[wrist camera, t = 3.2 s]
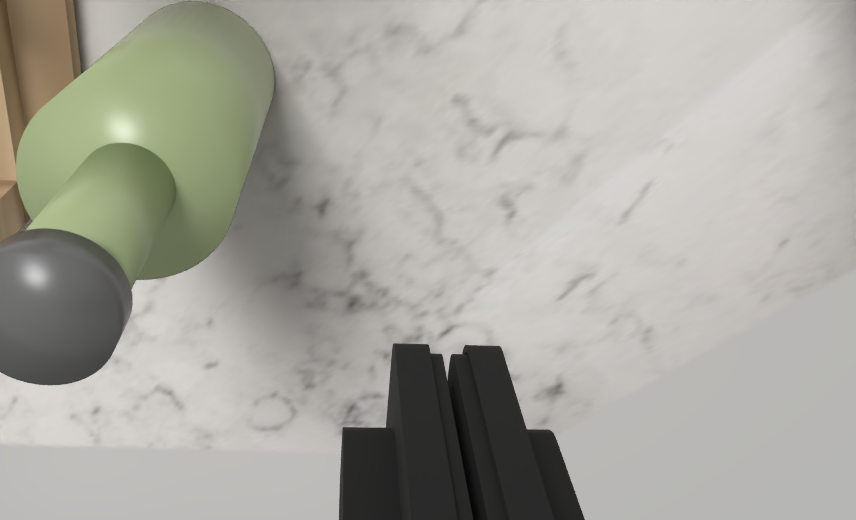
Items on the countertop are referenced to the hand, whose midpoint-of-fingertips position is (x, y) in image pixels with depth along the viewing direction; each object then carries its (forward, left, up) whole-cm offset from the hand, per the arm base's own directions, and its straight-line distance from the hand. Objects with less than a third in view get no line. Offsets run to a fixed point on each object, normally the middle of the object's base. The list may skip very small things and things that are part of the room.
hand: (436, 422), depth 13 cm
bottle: (+7, 0, -18) cm, 19 cm away
